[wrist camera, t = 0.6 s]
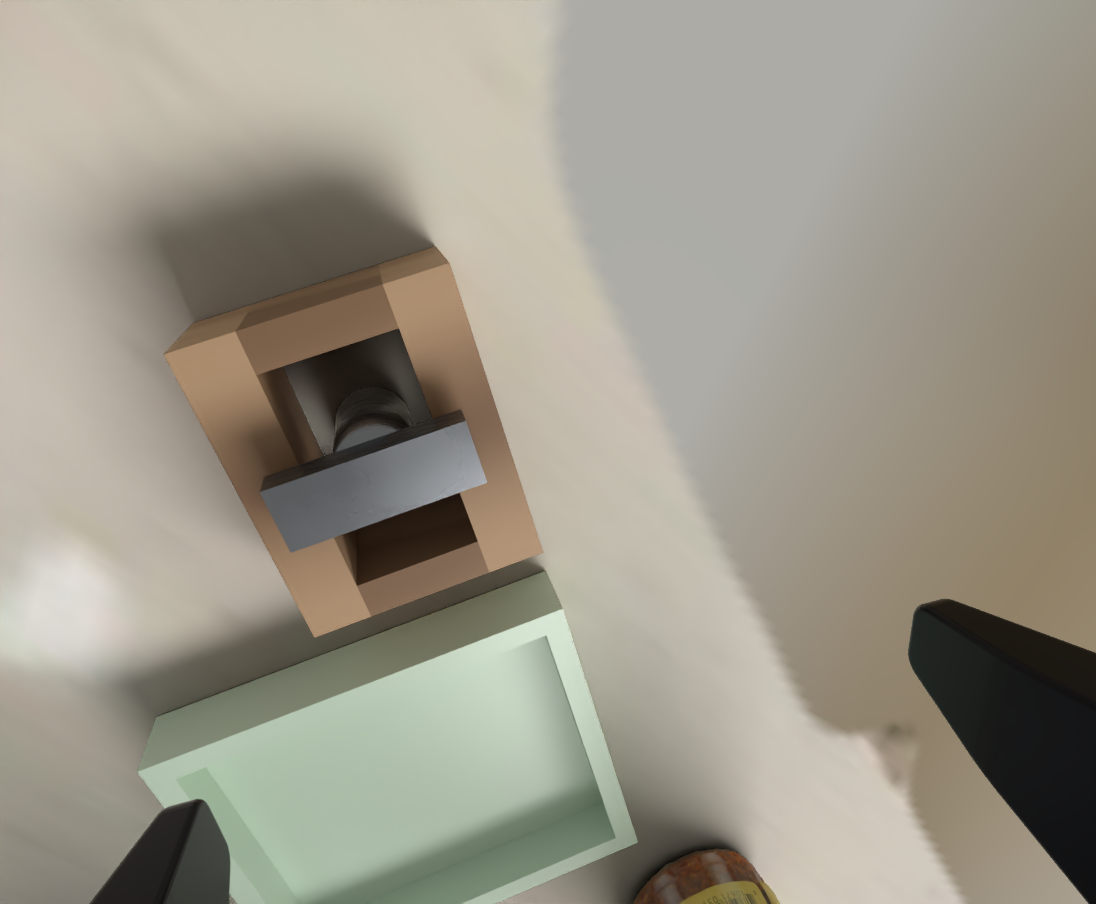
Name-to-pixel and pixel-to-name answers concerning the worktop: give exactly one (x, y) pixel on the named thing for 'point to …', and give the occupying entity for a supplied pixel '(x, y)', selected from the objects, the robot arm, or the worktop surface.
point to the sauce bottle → (707, 881)
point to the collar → (287, 440)
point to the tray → (406, 763)
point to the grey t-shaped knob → (372, 470)
